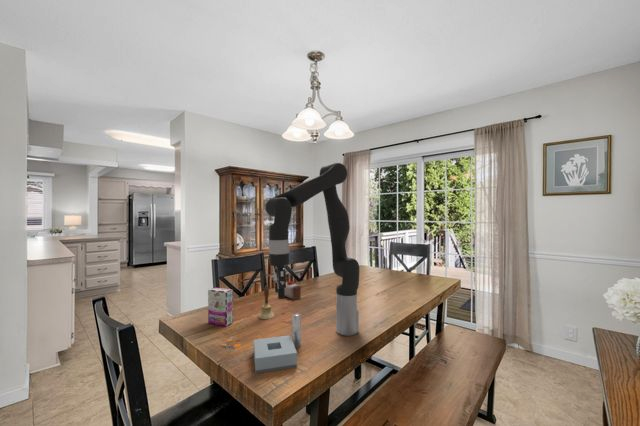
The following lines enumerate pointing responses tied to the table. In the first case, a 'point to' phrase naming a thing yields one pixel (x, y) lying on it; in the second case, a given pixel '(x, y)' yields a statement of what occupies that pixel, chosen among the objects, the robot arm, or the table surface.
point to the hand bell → (266, 306)
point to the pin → (296, 329)
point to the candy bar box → (220, 306)
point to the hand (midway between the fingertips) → (279, 295)
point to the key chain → (229, 344)
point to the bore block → (274, 354)
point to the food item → (292, 290)
